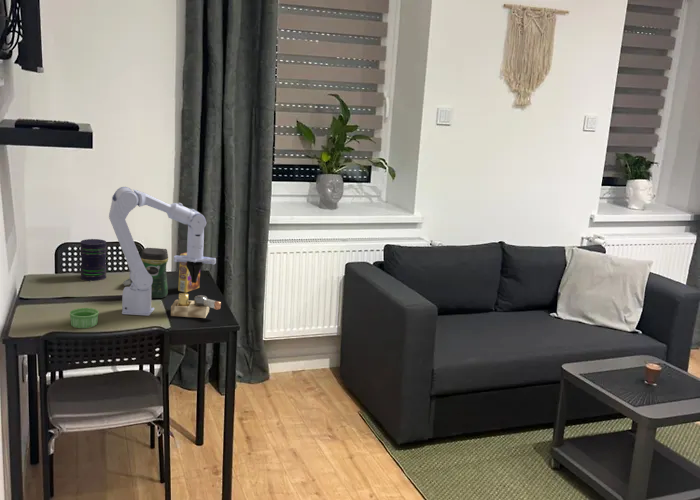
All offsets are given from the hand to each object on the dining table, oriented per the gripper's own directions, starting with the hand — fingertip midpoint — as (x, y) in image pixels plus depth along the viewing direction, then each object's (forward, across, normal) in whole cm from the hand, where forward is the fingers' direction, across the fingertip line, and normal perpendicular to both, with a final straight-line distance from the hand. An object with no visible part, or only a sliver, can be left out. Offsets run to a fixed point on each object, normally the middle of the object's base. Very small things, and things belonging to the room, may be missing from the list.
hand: (194, 282), depth 246 cm
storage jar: (+10, -46, +31) cm, 56 cm away
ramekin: (+10, -31, -24) cm, 41 cm away
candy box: (+10, -6, +23) cm, 26 cm away
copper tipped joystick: (+6, +6, -8) cm, 12 cm away
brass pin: (+10, -2, -6) cm, 12 cm away
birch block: (+10, 0, -6) cm, 12 cm away
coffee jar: (+10, -17, +12) cm, 23 cm away
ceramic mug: (+10, -26, +24) cm, 37 cm away
